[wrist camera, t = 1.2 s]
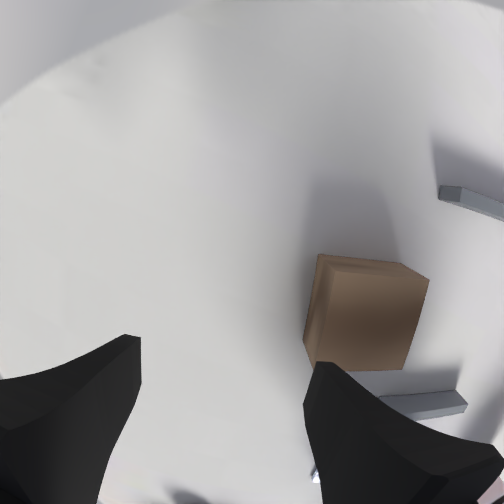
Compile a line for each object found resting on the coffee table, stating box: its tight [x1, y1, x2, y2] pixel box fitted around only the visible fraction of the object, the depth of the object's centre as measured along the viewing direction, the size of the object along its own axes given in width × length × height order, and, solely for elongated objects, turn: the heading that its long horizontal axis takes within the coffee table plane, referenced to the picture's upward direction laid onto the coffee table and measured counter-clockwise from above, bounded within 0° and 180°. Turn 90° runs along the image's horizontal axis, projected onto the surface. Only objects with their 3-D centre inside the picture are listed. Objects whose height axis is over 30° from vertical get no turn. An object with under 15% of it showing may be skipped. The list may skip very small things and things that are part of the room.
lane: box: [379, 186, 504, 421], centre depth 19 cm, size 18×9×2 cm, turn 171°
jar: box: [477, 477, 504, 504], centre depth 20 cm, size 9×8×12 cm
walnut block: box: [303, 254, 429, 371], centre depth 18 cm, size 6×6×4 cm
